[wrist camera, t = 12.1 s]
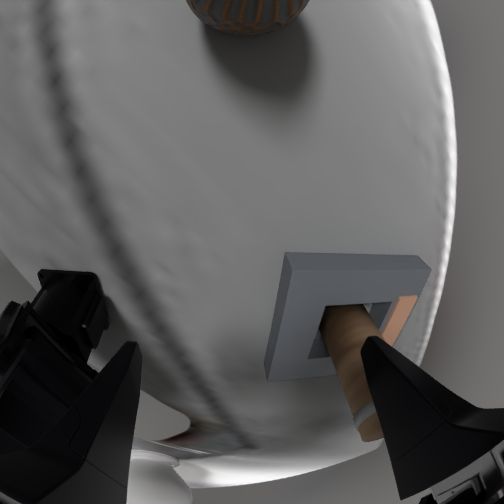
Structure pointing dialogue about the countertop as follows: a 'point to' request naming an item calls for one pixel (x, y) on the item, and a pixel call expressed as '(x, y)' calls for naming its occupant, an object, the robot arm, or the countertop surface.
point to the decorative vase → (155, 480)
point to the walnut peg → (352, 361)
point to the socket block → (336, 293)
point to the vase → (246, 14)
